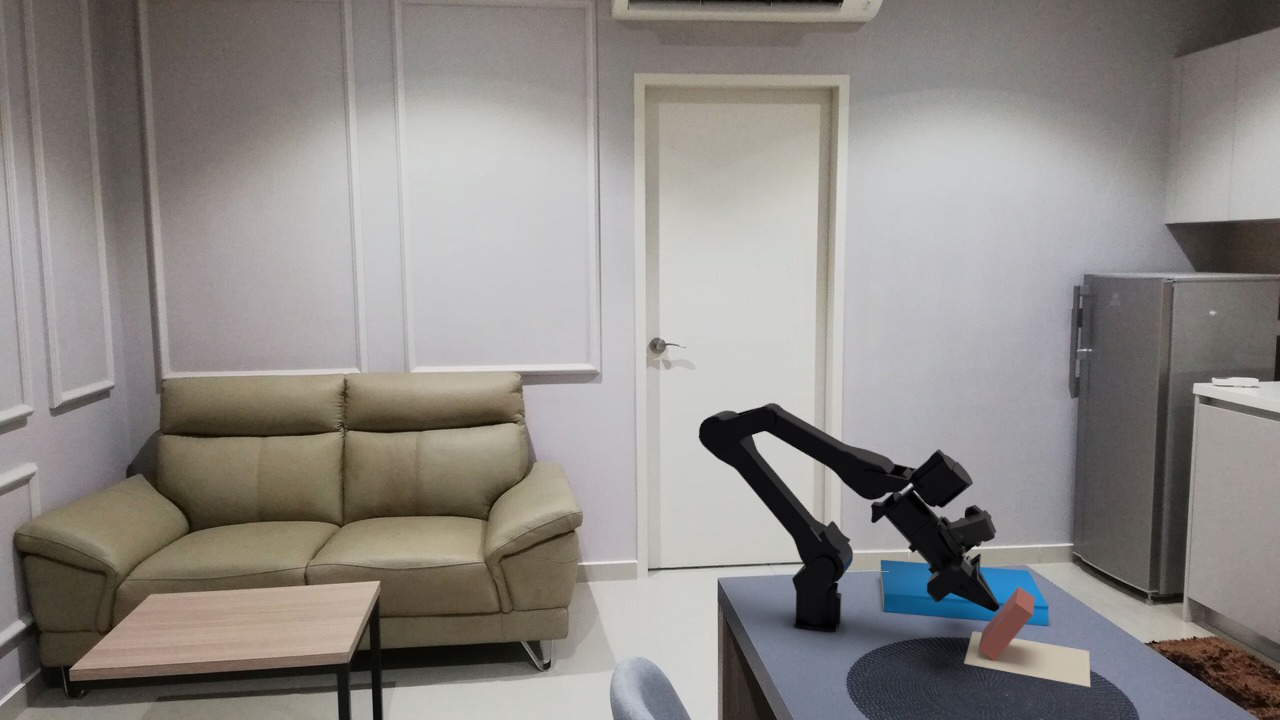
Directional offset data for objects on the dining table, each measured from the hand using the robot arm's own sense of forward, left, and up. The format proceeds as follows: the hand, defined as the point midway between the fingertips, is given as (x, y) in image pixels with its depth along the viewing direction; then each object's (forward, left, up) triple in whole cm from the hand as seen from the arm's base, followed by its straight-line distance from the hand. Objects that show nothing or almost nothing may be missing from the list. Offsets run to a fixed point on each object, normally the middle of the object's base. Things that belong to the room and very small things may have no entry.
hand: (997, 609), depth 129 cm
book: (-4, +20, -8) cm, 21 cm away
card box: (-1, 0, -6) cm, 6 cm away
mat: (+4, -1, -7) cm, 8 cm away
